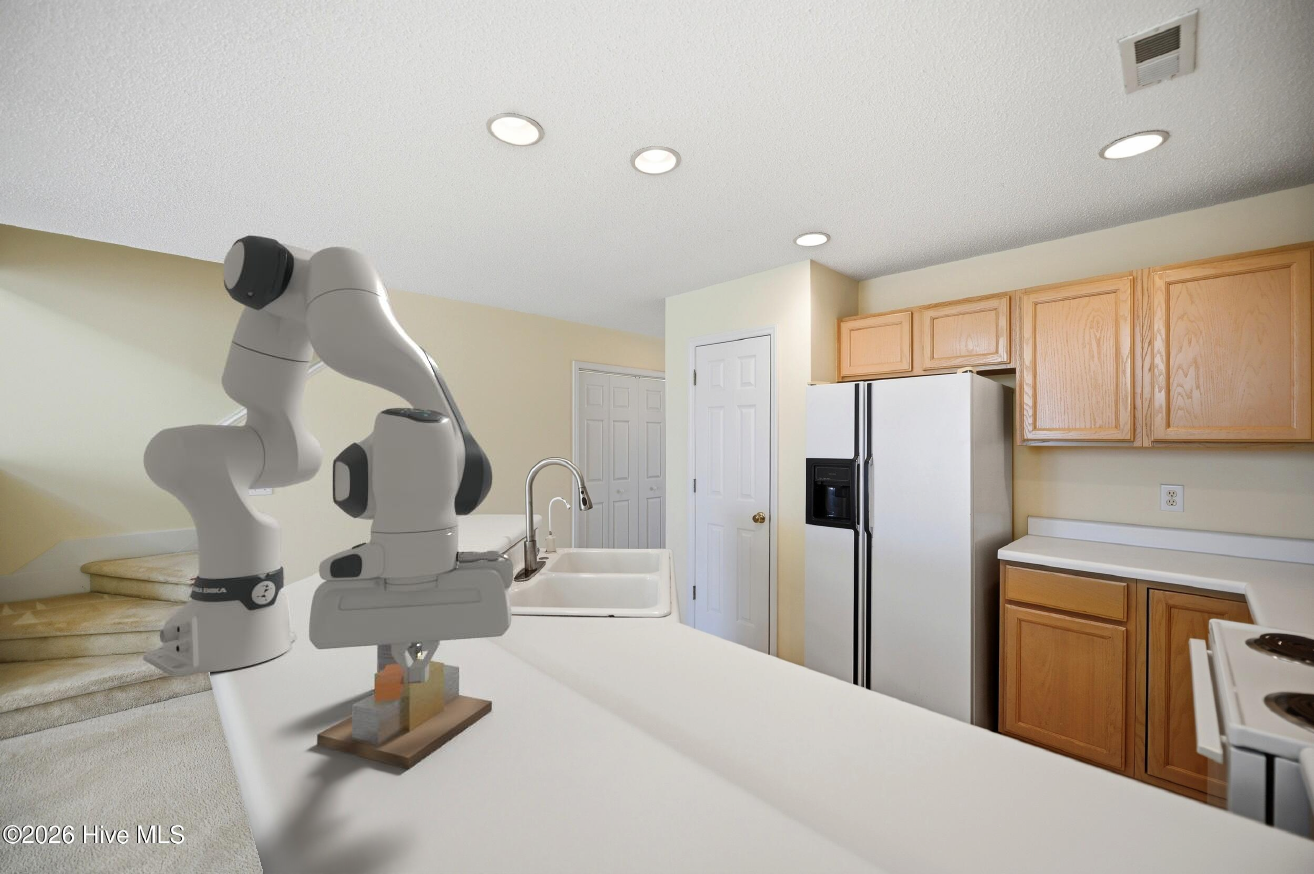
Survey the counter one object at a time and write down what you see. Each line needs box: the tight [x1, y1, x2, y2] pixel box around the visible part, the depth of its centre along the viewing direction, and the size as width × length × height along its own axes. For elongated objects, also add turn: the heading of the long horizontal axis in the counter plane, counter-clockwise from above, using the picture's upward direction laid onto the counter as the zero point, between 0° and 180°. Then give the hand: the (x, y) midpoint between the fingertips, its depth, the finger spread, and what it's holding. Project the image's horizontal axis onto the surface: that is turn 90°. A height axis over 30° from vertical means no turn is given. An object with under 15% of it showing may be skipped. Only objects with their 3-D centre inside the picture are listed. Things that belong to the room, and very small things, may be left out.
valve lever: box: [375, 642, 423, 701], centre depth 62 cm, size 13×3×2 cm, turn 14°
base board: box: [316, 694, 493, 770], centre depth 67 cm, size 14×14×1 cm
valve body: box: [351, 658, 460, 747], centre depth 67 cm, size 6×13×7 cm, turn 159°
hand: (416, 681), depth 59 cm, fingers closed
